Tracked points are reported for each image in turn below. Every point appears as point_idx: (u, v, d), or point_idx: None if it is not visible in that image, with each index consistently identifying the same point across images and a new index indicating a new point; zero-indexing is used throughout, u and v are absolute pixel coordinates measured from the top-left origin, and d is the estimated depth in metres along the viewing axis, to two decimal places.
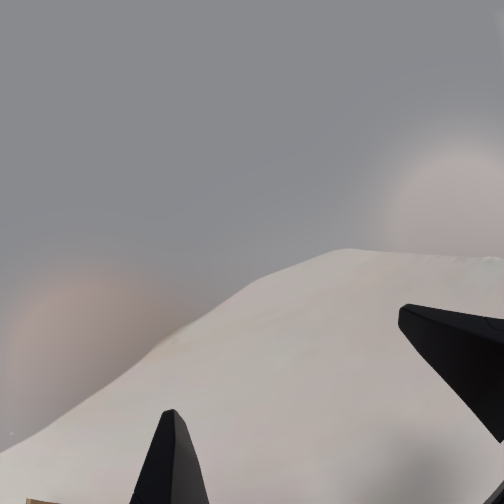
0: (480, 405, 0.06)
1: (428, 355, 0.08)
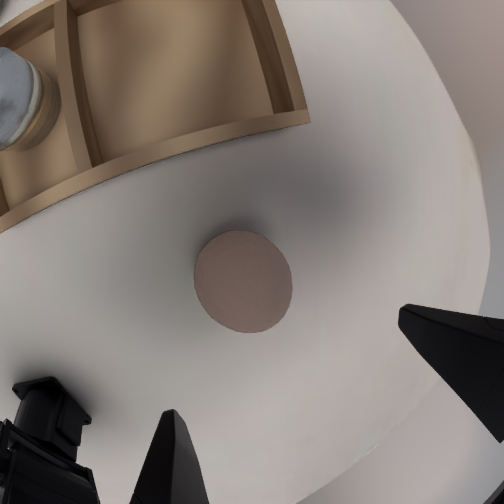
0: (480, 405, 0.06)
1: (428, 355, 0.08)
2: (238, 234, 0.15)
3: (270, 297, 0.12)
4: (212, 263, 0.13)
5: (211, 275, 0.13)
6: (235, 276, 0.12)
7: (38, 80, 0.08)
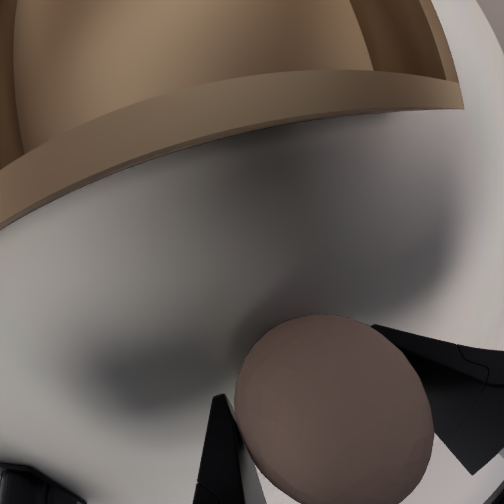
0: (451, 437, 0.05)
1: None
2: (342, 343, 0.06)
3: (417, 481, 0.03)
4: (297, 430, 0.05)
5: (296, 456, 0.04)
6: (361, 468, 0.04)
7: None
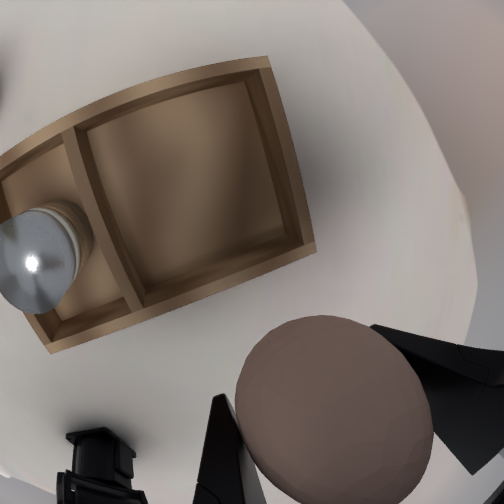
0: (450, 437, 0.05)
1: None
2: (342, 344, 0.06)
3: (416, 481, 0.03)
4: (298, 431, 0.05)
5: (297, 456, 0.04)
6: (361, 468, 0.04)
7: (74, 236, 0.12)
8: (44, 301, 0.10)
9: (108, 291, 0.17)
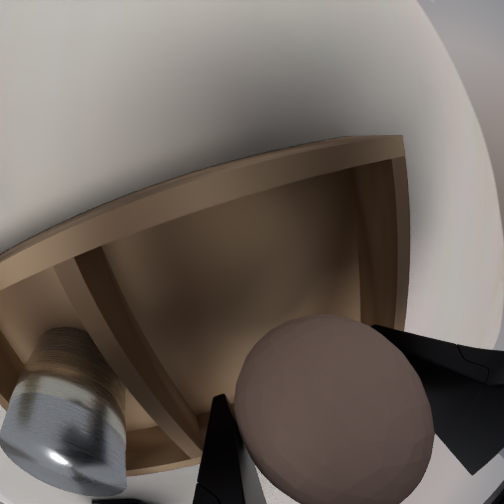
0: (451, 437, 0.05)
1: None
2: (342, 344, 0.06)
3: (417, 481, 0.03)
4: (298, 431, 0.05)
5: (296, 456, 0.04)
6: (361, 468, 0.04)
7: (114, 416, 0.08)
8: (95, 491, 0.06)
9: (149, 419, 0.13)
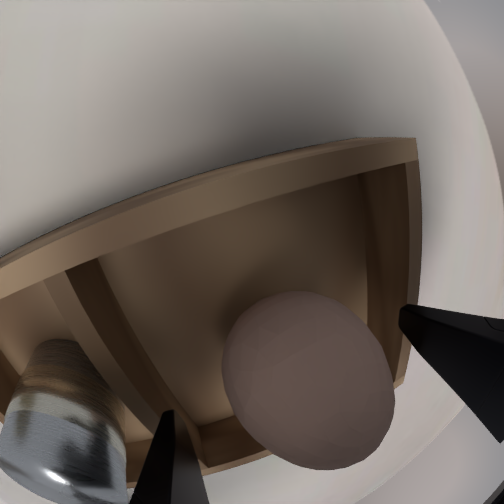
0: (481, 406, 0.06)
1: (428, 355, 0.08)
2: (307, 309, 0.08)
3: (378, 434, 0.05)
4: (268, 377, 0.06)
5: (268, 400, 0.06)
6: (321, 411, 0.05)
7: (113, 434, 0.07)
8: None
9: (150, 430, 0.12)
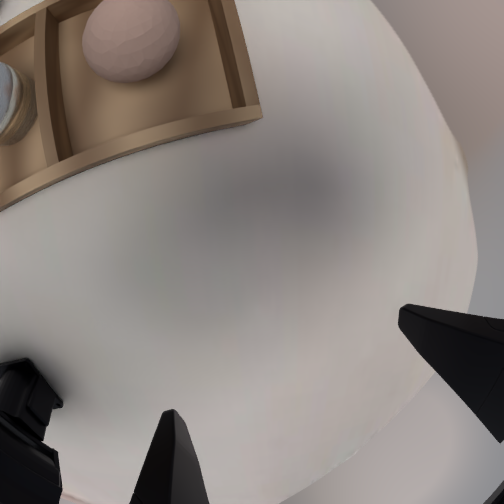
0: (480, 405, 0.06)
1: (428, 355, 0.08)
2: None
3: None
4: None
5: None
6: None
7: (17, 84, 0.08)
8: None
9: (40, 165, 0.13)
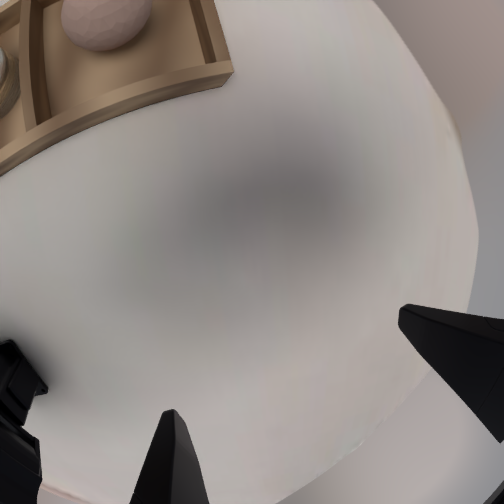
0: (480, 405, 0.06)
1: (428, 355, 0.08)
2: None
3: None
4: None
5: None
6: None
7: (2, 59, 0.07)
8: None
9: None
